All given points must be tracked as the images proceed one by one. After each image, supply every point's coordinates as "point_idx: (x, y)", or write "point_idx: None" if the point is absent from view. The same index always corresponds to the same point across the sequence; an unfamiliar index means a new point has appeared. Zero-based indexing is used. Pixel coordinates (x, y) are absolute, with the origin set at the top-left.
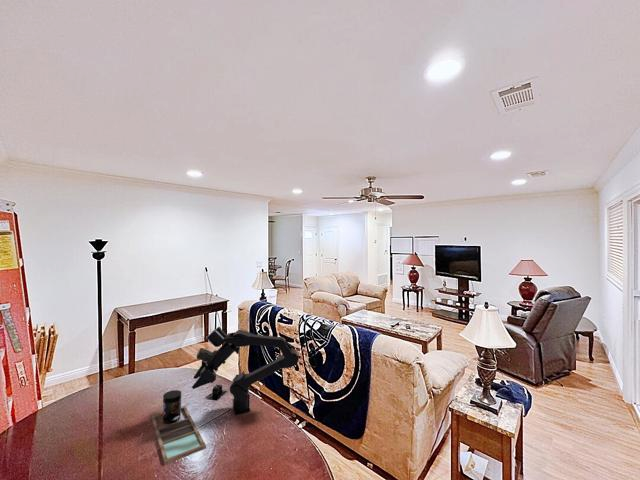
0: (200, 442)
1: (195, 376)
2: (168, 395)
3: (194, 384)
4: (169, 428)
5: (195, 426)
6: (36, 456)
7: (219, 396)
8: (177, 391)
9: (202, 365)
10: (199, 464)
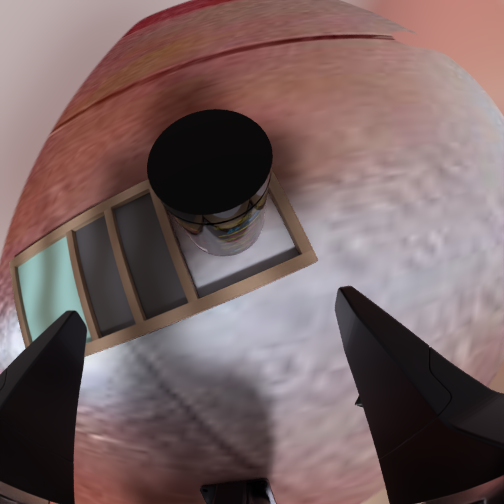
0: None
1: (345, 313)
2: (197, 137)
3: (37, 337)
4: (153, 229)
5: (123, 339)
6: (169, 20)
7: None
8: (246, 179)
9: (451, 444)
10: (3, 350)
